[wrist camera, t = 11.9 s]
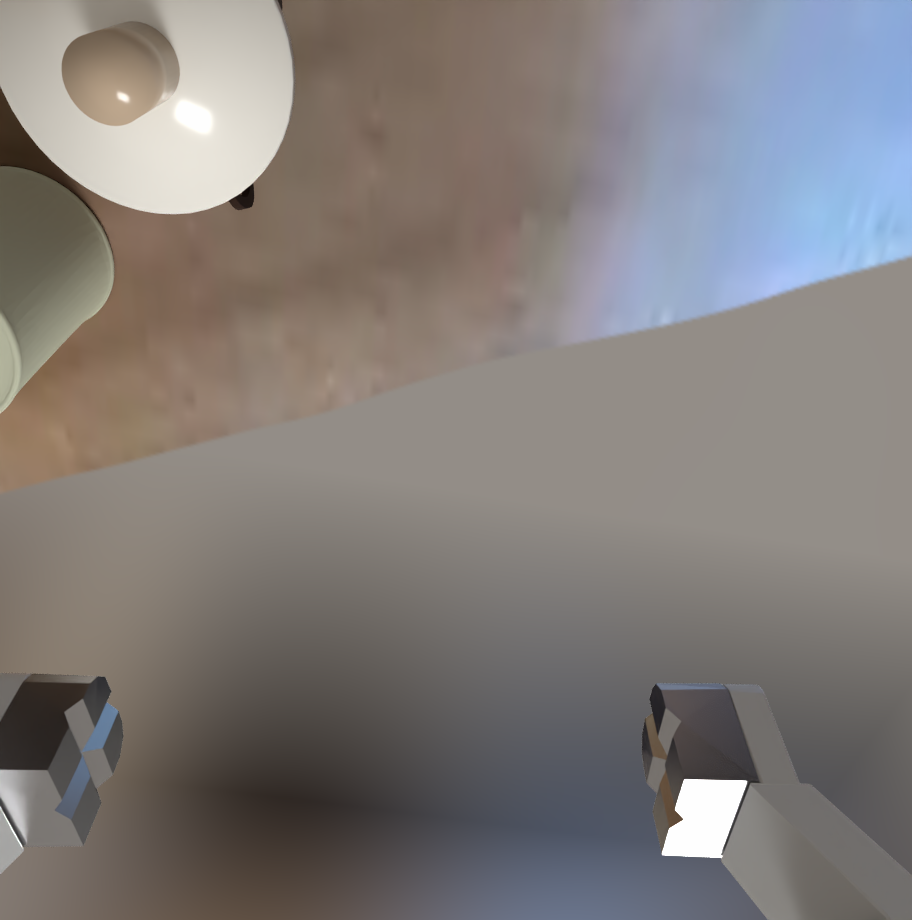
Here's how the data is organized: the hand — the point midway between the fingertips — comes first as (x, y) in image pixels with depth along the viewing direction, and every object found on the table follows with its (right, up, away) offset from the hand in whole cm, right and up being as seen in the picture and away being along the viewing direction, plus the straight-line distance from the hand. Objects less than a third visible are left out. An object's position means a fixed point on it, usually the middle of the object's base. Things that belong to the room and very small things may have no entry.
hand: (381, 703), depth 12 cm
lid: (-10, +19, +18) cm, 28 cm away
